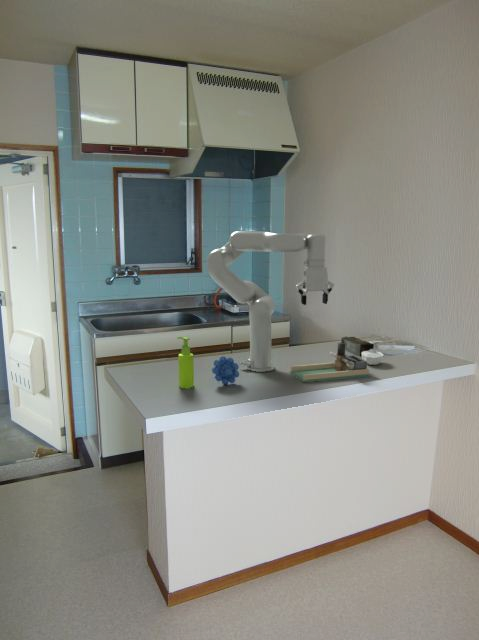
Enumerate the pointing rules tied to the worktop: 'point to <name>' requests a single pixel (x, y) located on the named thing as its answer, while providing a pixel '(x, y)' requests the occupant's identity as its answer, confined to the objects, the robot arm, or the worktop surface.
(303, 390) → the worktop surface
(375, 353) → the cell model
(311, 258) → the robot arm
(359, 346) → the beverage carton
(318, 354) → the worktop surface
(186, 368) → the soap dispenser
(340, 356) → the kicker
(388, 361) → the worktop surface
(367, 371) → the pitch
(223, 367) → the blue knobbed wheel
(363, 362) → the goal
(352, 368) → the ball
